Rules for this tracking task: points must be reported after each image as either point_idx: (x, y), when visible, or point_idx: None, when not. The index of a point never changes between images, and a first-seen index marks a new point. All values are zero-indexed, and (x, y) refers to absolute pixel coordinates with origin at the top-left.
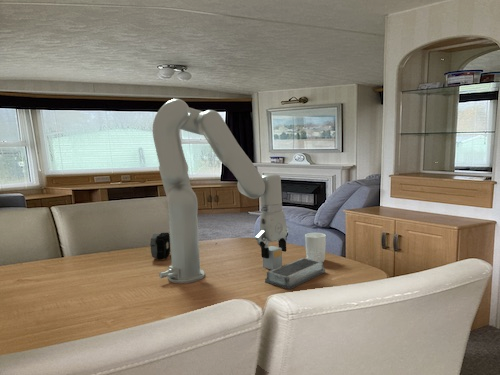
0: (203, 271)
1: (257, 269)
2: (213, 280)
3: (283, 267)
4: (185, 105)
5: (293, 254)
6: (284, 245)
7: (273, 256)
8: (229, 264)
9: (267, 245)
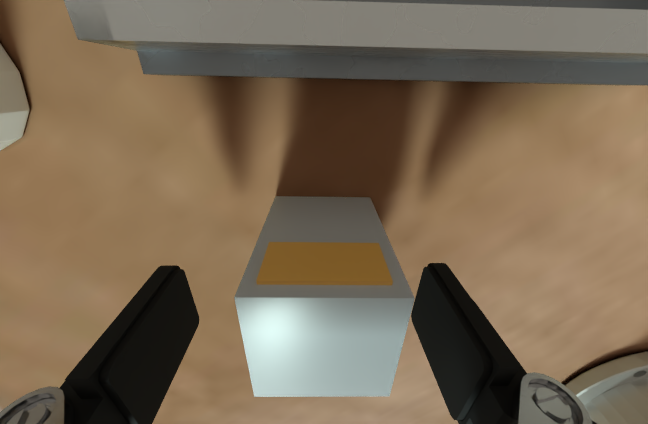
0: (593, 388)
1: (411, 269)
2: (643, 315)
3: (529, 8)
4: None
5: (50, 279)
6: (144, 324)
7: (386, 254)
8: (415, 381)
9: (529, 411)
